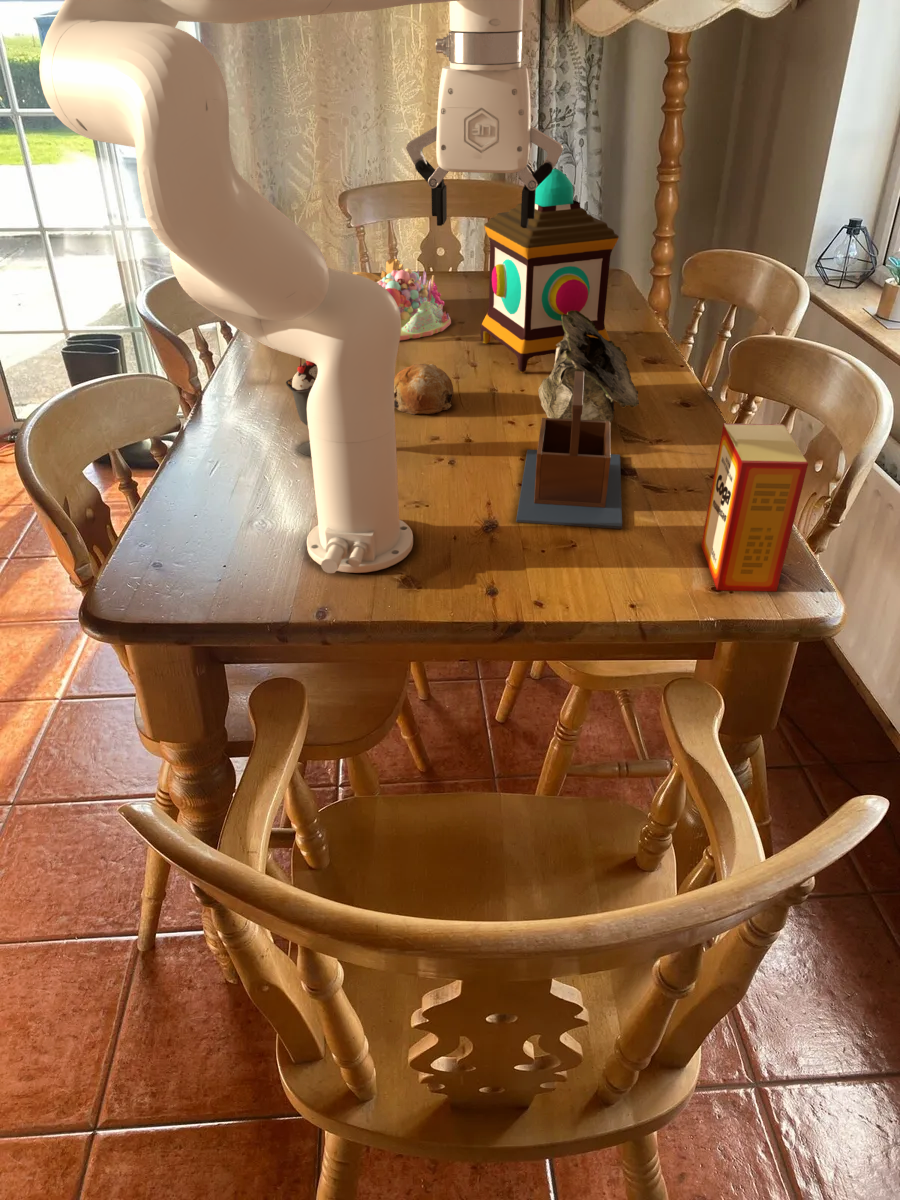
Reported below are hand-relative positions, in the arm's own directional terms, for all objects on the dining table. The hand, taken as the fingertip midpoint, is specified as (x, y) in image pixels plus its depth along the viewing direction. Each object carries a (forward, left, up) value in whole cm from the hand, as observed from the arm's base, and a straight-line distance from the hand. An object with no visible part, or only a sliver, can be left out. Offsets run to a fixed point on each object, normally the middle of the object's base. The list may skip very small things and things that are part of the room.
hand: (483, 224), depth 105 cm
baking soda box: (-19, -32, -32) cm, 49 cm away
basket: (-2, -12, -32) cm, 34 cm away
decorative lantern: (+49, -6, -32) cm, 59 cm away
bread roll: (+23, +12, -32) cm, 42 cm away
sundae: (+5, +24, -32) cm, 41 cm away
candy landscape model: (+64, +24, -32) cm, 76 cm away
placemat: (-2, -12, -32) cm, 35 cm away
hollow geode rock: (+24, -14, -32) cm, 43 cm away
